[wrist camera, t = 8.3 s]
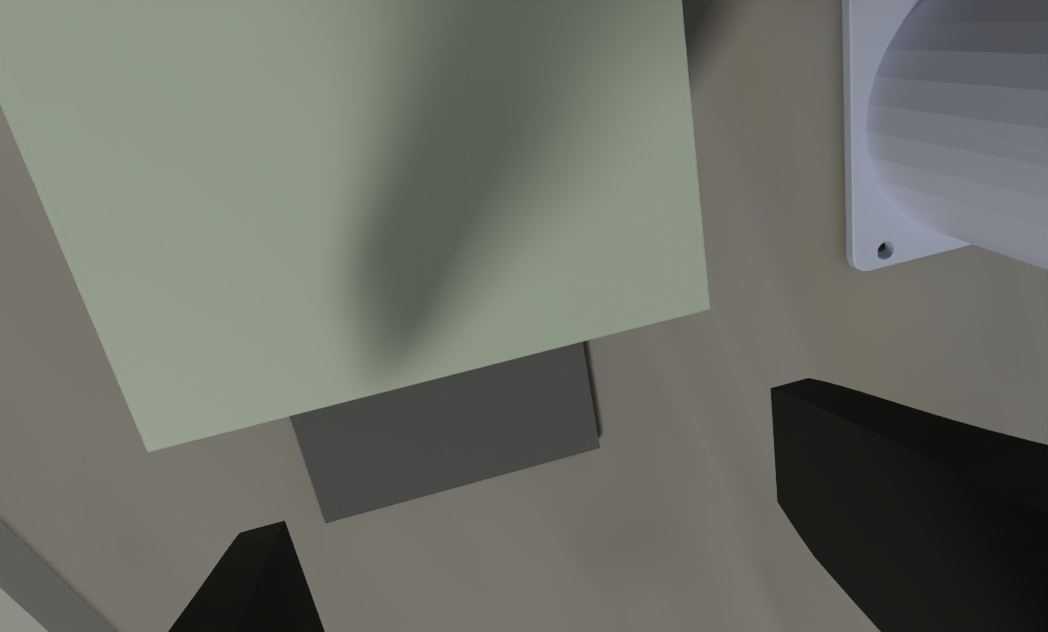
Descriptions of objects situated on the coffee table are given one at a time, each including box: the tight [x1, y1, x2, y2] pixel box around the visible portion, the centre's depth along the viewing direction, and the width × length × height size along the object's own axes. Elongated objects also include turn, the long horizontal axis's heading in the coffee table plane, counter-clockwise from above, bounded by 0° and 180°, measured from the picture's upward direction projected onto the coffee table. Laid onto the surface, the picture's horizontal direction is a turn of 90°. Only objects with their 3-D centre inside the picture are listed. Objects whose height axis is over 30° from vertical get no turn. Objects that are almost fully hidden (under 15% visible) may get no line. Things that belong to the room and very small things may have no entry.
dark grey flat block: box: [290, 342, 600, 523], centre depth 21 cm, size 8×5×1 cm, turn 100°
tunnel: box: [0, 0, 710, 452], centre depth 15 cm, size 10×10×7 cm
